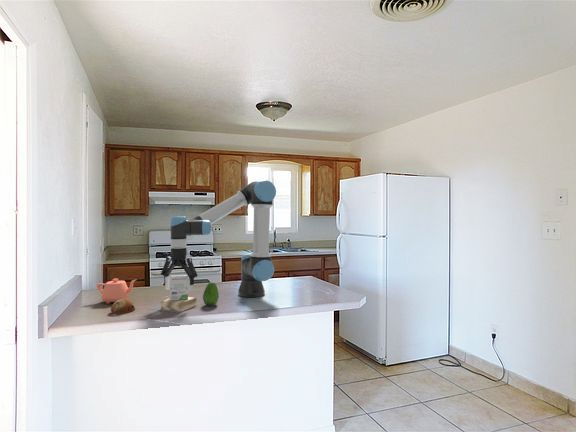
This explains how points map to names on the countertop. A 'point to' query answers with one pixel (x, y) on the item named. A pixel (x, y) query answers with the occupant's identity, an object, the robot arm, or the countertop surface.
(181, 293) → the ink box
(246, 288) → the robot arm
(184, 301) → the maple plinth
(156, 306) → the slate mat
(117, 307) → the bread roll
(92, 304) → the countertop surface
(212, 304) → the avocado
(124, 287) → the teapot
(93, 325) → the countertop surface
